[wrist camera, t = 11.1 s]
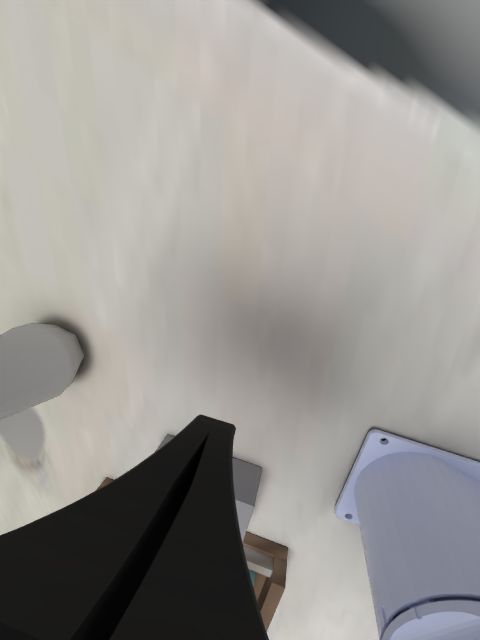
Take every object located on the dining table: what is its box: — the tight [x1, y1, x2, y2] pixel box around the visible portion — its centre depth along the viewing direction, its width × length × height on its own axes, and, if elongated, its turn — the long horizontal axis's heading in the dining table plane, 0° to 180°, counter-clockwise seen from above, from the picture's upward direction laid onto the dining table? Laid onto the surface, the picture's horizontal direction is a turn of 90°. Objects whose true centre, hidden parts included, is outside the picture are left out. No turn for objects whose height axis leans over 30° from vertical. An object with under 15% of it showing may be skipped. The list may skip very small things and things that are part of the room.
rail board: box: [97, 478, 288, 632], centre depth 26 cm, size 17×9×3 cm, turn 77°
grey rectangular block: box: [155, 434, 262, 543], centre depth 23 cm, size 8×5×4 cm, turn 77°
